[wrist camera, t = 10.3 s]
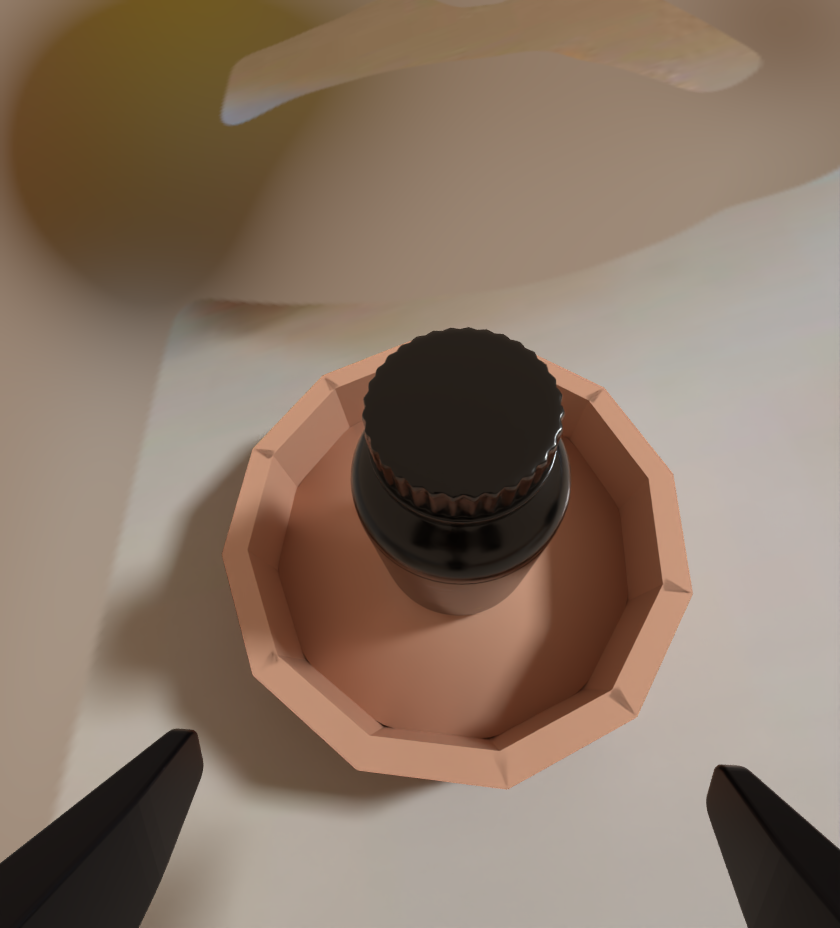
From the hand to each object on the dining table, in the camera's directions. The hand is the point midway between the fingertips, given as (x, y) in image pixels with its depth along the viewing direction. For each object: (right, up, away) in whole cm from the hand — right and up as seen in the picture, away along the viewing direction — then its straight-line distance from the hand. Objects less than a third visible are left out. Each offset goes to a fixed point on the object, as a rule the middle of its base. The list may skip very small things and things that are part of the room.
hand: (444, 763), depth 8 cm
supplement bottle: (+1, +1, +14) cm, 14 cm away
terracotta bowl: (+1, +1, +15) cm, 15 cm away
